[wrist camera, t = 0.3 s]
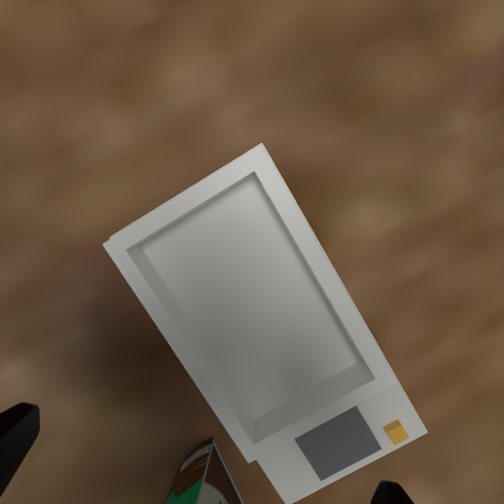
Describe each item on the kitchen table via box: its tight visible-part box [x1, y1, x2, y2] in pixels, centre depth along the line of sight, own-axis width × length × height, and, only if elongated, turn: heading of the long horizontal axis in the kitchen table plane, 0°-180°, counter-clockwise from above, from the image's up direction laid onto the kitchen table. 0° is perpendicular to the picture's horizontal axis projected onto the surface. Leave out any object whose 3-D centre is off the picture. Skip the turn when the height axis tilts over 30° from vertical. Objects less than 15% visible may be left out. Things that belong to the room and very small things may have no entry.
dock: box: [102, 143, 428, 504], centre depth 22 cm, size 12×24×4 cm, turn 31°
